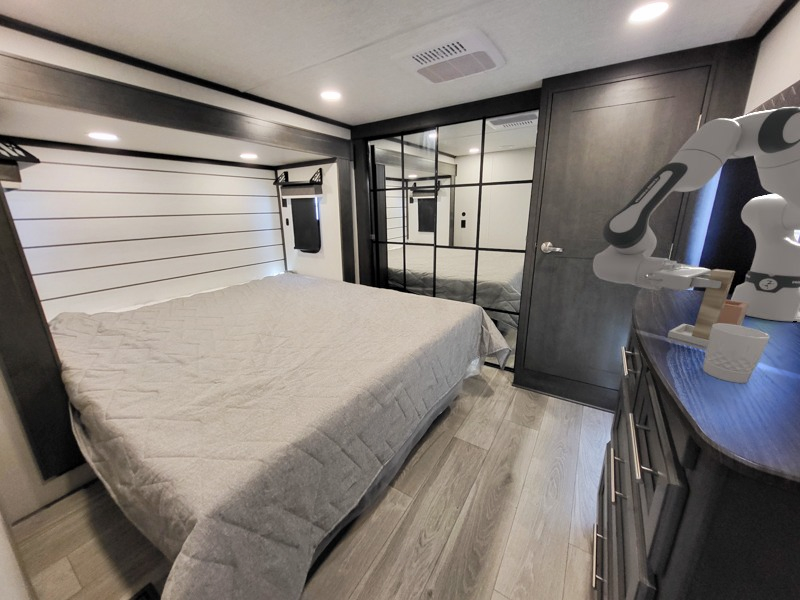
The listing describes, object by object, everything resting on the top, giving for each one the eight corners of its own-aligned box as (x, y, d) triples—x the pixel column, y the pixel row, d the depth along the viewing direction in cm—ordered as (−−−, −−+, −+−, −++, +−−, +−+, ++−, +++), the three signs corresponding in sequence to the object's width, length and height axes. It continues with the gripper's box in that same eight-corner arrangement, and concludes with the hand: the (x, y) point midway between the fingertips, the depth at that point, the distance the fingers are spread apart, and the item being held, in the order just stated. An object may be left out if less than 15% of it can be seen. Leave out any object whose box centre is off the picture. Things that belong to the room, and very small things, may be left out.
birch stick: (695, 335, 82) (715, 268, 77) (712, 340, 79) (735, 271, 74) (690, 338, 80) (711, 270, 75) (708, 342, 77) (731, 272, 72)
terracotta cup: (703, 325, 92) (712, 297, 90) (738, 334, 86) (749, 303, 84) (695, 330, 88) (704, 300, 86) (731, 339, 82) (742, 307, 80)
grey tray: (681, 331, 87) (683, 323, 86) (736, 345, 78) (739, 336, 78) (666, 339, 81) (669, 331, 81) (724, 355, 72) (727, 346, 72)
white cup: (764, 387, 59) (783, 339, 57) (716, 382, 61) (732, 335, 58) (731, 368, 67) (746, 325, 64) (689, 363, 68) (702, 321, 66)
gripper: (642, 265, 79) (716, 274, 68) (672, 259, 90) (739, 267, 79) (637, 289, 81) (707, 302, 70) (666, 280, 92) (731, 290, 81)
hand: (724, 283), depth 75 cm, fingers open, 4 cm apart
